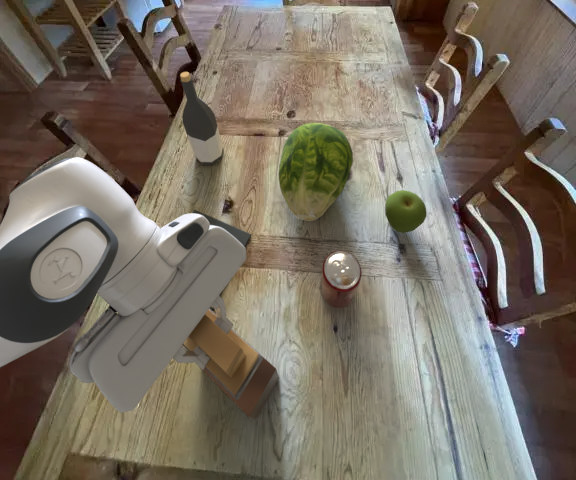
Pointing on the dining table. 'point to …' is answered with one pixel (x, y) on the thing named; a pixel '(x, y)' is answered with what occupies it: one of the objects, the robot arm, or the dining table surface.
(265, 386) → the walnut block
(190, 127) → the wine bottle
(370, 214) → the dining table surface
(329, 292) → the soda can
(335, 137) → the lettuce
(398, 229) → the apple
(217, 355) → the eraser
